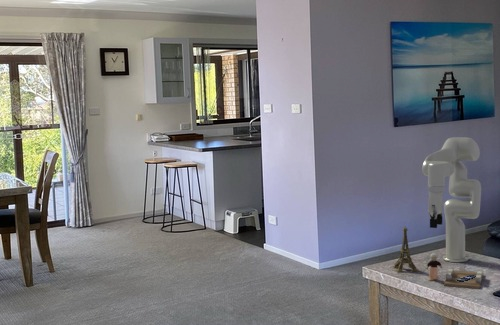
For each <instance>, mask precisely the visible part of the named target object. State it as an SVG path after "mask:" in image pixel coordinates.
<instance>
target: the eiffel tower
mask: <svg viewBox="0 0 500 325" xmlns="http://www.w3.org/2000/svg"><path fill="white" fill-rule="evenodd" d="M402 231H403V233H402V234H403V235H402V243H401V244H402V245H401V248H400V249H399V250H400V254H399V256H398V259H397V260H396V262H395V263H394V265H392V266H391V267H392V269H397V270H396V273H404V271H403V268H404V267H403V266H404V265H405V264H408V265H407V267H408V268H411V271H412V272H414V273H420V271H419V270H418V269H417V267H416V265H415V264H414V262H413V258H412V257H411V253H410V252H411V250H410V249H409V242H408V241H409V240H408V233H407V231H408V228H407V227H402ZM405 255H406V256H405Z"/></svg>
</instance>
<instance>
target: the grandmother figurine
mask: <svg viewBox="0 0 500 325" xmlns="http://www.w3.org/2000/svg"><path fill="white" fill-rule="evenodd" d="M438 257H439V255H438V254H436V253H435V252H433V253H431V254H430V259H431V260H429V262H428V263H427V264H426V267H425V270H428V269H429V272H428V273H429V274H428V276H429V277H428V278H429V279H428V281H430V282H432V281H439V279H438V276H439V275H438V273H439V272H438V271H439V269H438V266H439V268H440V269H442V268H443V266H442V264H441V262H440V261H438ZM429 267H430V268H429Z"/></svg>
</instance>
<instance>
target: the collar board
mask: <svg viewBox="0 0 500 325" xmlns="http://www.w3.org/2000/svg"><path fill="white" fill-rule="evenodd" d="M469 275H474V276H476V277H475V278H473V279H470V280H468V281H464V282H459V281H457V280H456V279H459V278H463V277H466V276H469ZM483 277H484V272H483V270H479V269H478V270H477V271H467V270H466V271H463V270H454V268H451V267H449V268H448V269H447V271H446V273H445V281H444V283H443V284H444V285H443V286H444V287H452V288H455V287H456V288H462V289H463V288H465V289H466V288H467V289H477V290H480V288H481V284H482V280H483Z"/></svg>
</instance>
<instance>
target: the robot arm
mask: <svg viewBox="0 0 500 325" xmlns="http://www.w3.org/2000/svg"><path fill="white" fill-rule="evenodd" d="M480 151H481V150H480V147H479V145H478V143H477V142H476V141H475V139H473V138H471V137H464V136H463V137H460V136H459V137H457V136H455V137H453V136H452V137H449V138H447V139H446V140H445V141H444V143H443V145H442V147H441V149H440V150H436V151H435V152H432V153H430V154H429V155H427V156H426V158H425V159H424V161H423V163H422V165H421V166H422V167H421V171H422V175H424V176H425V177H427V193H428V201H427V202H428V205H427V207H428V208H427V214H428V215H429V228H430V229H431V228H432V229H437V228H438V225H443V212H444V216H445V217H444V220H445V254H444V255H443V256H442V260H444V261H446V262H450V263H465V262H467V261H469V257H468V256H467V255H466V225H465V224H464V221H463V220H462V219H470V220H475V219H478V217H479V216H480V212H481V210H480V209H481V199H482V185H481V182H480V181H479V180H478V179H474V178H473V179H472V178H471V179H470V178H468V168H467V167H466V166H465V164H464V163H463V162H476V161H478V159H479V158H480V155H481V154H480V153H481V152H480ZM462 161H463V162H462ZM446 178H449V180H448V193H449V195H450V196H451V197H453V198H449V199H447V200H446V201H445V202H444V193H446V190H445V189H446ZM459 198H460V199H459ZM461 198H463V199H461ZM464 198H469V199H464Z"/></svg>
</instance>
